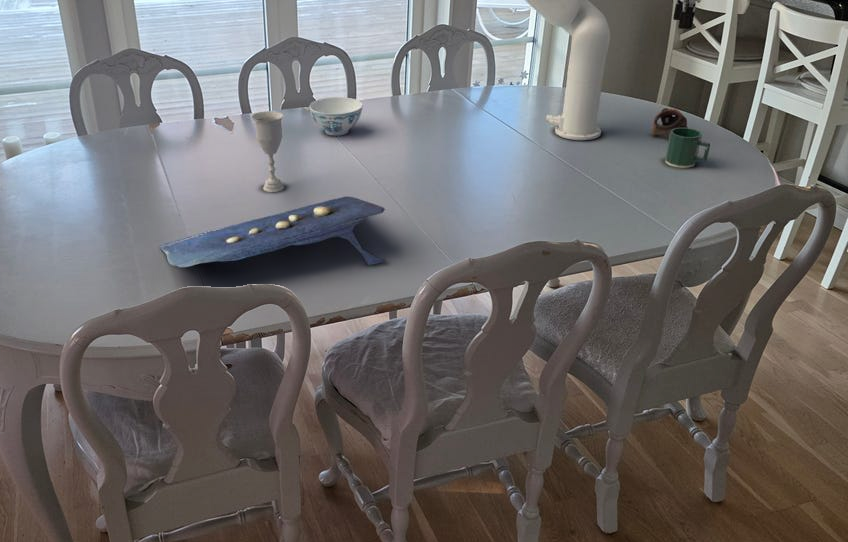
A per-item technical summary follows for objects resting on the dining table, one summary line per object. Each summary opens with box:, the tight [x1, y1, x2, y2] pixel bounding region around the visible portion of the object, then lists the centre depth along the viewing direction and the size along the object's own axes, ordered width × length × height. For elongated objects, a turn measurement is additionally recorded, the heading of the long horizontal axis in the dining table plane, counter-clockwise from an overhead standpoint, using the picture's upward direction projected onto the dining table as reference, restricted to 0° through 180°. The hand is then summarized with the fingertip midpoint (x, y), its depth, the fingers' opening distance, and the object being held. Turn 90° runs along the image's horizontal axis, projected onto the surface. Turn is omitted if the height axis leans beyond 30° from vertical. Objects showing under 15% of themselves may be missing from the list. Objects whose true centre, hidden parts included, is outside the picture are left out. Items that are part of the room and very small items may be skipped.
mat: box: [158, 196, 386, 268], centre depth 163 cm, size 45×27×12 cm, turn 114°
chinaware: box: [309, 96, 364, 137], centre depth 223 cm, size 15×15×8 cm
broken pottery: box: [651, 107, 689, 137], centre depth 218 cm, size 12×10×8 cm
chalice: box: [251, 110, 285, 193], centre depth 187 cm, size 7×7×18 cm
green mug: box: [664, 127, 711, 169], centre depth 198 cm, size 10×7×8 cm
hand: (682, 24), depth 201 cm, fingers open, 9 cm apart
